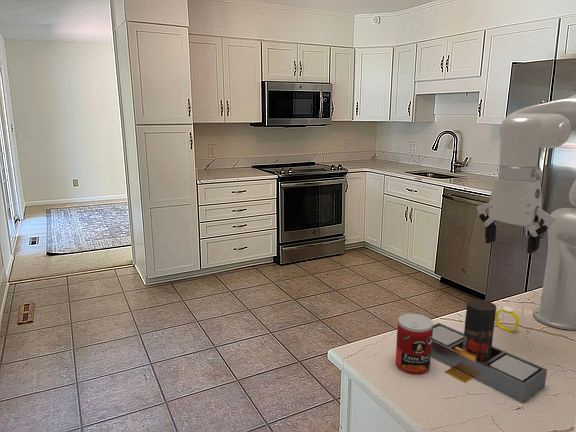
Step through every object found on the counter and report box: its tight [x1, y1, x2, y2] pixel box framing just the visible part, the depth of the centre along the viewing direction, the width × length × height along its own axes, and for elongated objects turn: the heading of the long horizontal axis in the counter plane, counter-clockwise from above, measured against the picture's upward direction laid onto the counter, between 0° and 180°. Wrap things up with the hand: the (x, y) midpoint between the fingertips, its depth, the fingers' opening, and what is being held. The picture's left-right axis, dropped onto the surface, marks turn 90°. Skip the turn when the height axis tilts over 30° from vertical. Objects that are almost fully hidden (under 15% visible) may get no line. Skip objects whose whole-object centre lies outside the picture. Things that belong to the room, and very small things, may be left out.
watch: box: [495, 306, 520, 332], centre depth 117 cm, size 6×3×6 cm, turn 39°
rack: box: [431, 322, 548, 404], centre depth 99 cm, size 12×26×5 cm, turn 36°
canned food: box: [395, 313, 434, 375], centre depth 100 cm, size 8×8×11 cm
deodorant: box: [463, 298, 497, 363], centre depth 99 cm, size 6×6×15 cm
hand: (510, 246), depth 102 cm, fingers open, 9 cm apart
